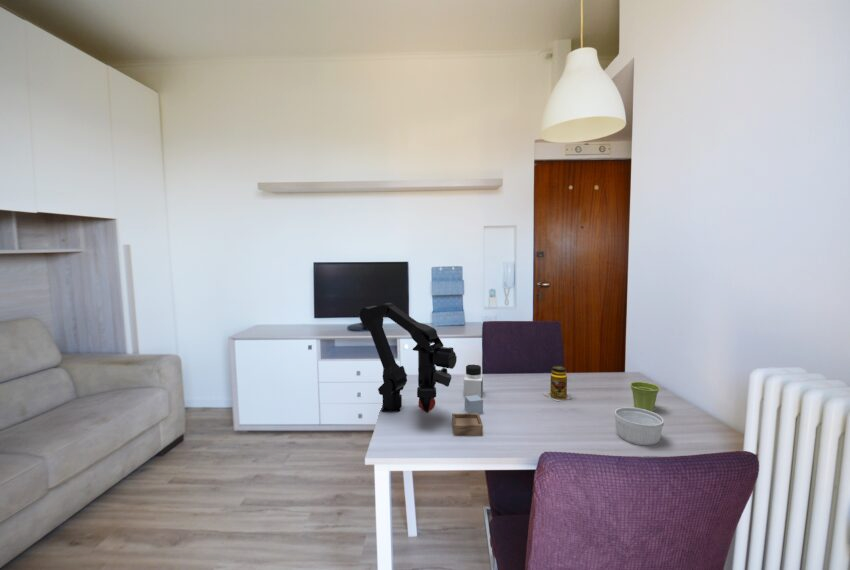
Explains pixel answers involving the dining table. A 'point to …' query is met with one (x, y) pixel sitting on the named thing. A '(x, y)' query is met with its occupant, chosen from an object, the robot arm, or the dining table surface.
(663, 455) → the dining table surface
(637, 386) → the plant pot
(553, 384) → the condiment
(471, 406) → the slate cube
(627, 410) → the ramekin
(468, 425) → the wooden square tray
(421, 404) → the onion
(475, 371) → the medicine bottle
